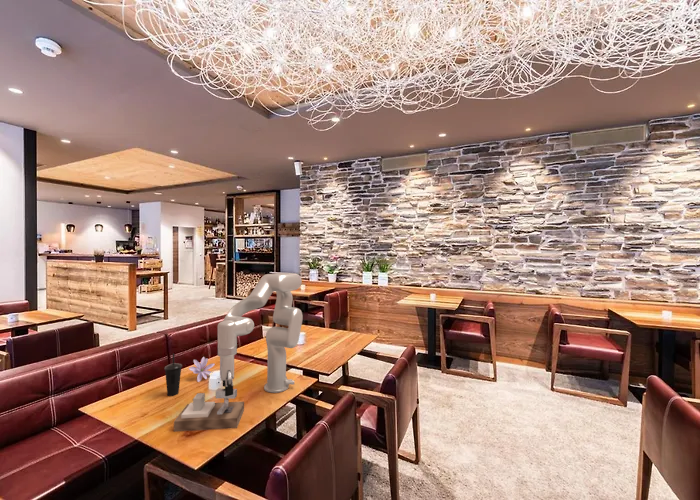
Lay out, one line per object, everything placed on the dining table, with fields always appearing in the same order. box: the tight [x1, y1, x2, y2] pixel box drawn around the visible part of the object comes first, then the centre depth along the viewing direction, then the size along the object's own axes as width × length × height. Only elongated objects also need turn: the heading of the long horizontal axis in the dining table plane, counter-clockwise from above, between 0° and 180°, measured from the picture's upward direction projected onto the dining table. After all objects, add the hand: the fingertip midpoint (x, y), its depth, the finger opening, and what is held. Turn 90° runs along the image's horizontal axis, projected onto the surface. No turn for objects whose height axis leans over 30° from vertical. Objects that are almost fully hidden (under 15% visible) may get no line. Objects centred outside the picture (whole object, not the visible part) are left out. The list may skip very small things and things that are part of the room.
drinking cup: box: [164, 353, 183, 397], centre depth 155 cm, size 8×8×20 cm
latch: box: [215, 388, 238, 414], centre depth 130 cm, size 8×8×8 cm
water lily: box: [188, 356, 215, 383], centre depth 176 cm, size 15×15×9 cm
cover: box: [181, 392, 216, 418], centre depth 131 cm, size 10×10×6 cm
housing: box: [173, 401, 245, 433], centre depth 132 cm, size 24×14×4 cm, turn 97°
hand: (227, 390), depth 133 cm, fingers open, 9 cm apart
